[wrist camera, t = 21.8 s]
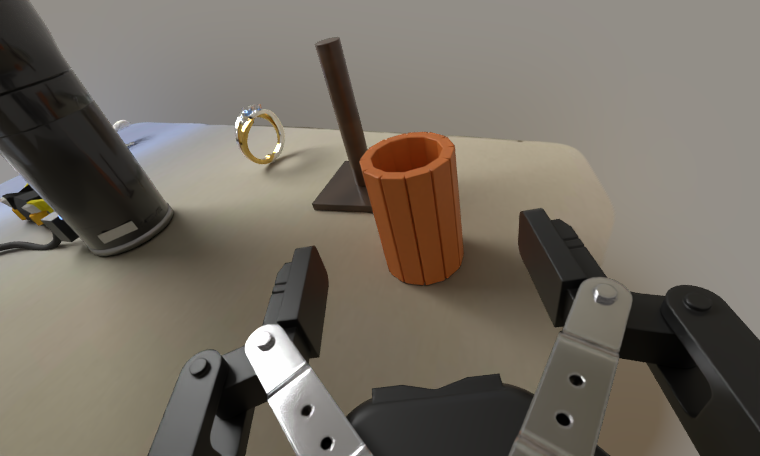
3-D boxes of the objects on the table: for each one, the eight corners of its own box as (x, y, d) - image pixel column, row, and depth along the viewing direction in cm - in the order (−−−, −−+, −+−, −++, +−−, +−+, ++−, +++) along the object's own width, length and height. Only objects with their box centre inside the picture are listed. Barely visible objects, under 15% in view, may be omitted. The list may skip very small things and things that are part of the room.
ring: (284, 148, 53) (262, 95, 48) (297, 151, 51) (276, 96, 46) (246, 172, 49) (218, 117, 44) (259, 176, 47) (231, 119, 43)
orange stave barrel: (377, 280, 28) (345, 178, 22) (399, 229, 32) (378, 133, 27) (455, 289, 26) (442, 179, 20) (468, 234, 30) (461, 129, 24)
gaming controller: (78, 183, 60) (12, 219, 54) (53, 154, 57) (-20, 188, 50) (125, 191, 53) (56, 234, 47) (99, 158, 50) (21, 200, 43)
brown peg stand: (314, 209, 38) (255, 63, 29) (346, 166, 44) (307, 35, 35) (392, 213, 35) (354, 48, 26) (415, 165, 41) (392, 19, 32)
